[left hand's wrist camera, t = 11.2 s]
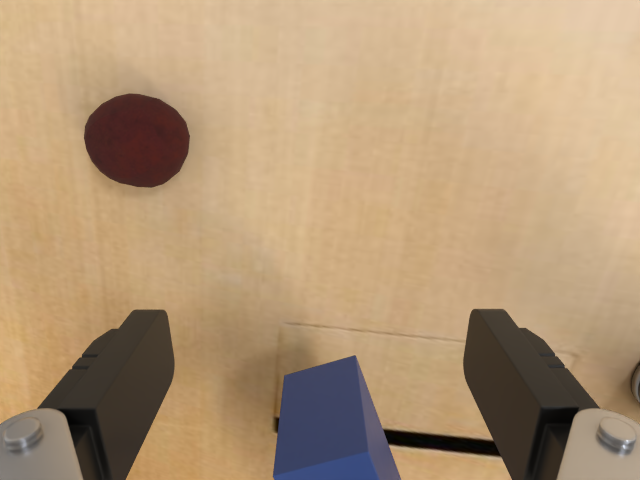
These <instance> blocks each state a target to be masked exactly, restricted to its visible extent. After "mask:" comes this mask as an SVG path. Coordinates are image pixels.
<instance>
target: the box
mask: <svg viewBox="0 0 640 480" xmlns="http://www.w3.org/2000/svg"><path fill="white" fill-rule="evenodd" d="M273 477H274V479H275V480H401V478H400V475H399V472H398V470H397V467H396V464H395V461H394V459H393V456H392V453H391V451H390V448H389V445H388V442H387V440H386V437H385V434H384V431H383V429H382V426H381V423H380V421H379V418H378V415H377V412H376V410H375V407H374V404H373V401H372V399H371V396H370V393H369V390H368V388H367V385H366V382H365V380H364V377H363V374H362V371H361V369H360V366H359V363H358V360H357V358H356V356H351V357H347V358H344V359H340V360H337V361H333V362H330V363H326V364H323V365H319V366H316V367H312V368H309V369H305V370H302V371H298V372H295V373H291V374H288V375H285V376H284V383H283V392H282V401H281V410H280V418H279V427H278V436H277V445H276V454H275V463H274V471H273Z"/></svg>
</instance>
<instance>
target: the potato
mask: <svg viewBox="0 0 640 480" xmlns="http://www.w3.org/2000/svg"><path fill="white" fill-rule="evenodd" d="M189 138H190V135H189V132H188V128H187V125H186V122H185V120H184V119H183V118H182V117H181V115H180V114H179V113H178V112H177V111H176V110H175V109H174V108H172V107H171V106H169V105H168V104H166V103H164V102H163V101H161V100H160V99H157V98H152V97H148V96H144V95H140V94H126V95H121V96H117V97H114V98H112V99H110V100H109V101H107V102H105V103H103V104H102V105H100V106H99V107H98V108H97V109H96V110H95V111H94V112H93V113H92V114H91V115H90V117H89V119H88V121H87V123H86V126H85V134H84V140H85V144H86V149H87V152H88V154H89V156H90V158H91V160H92V162H93V163H94V164H95V166H96V167H97V168H98V169H99V170H100V171H101V172H102V173H103V174H104V175H106V176H107V177H108V178H110V179H112V180H114V181H117V182H119V183H123V184H128V185H132V186H136V187H155V186H158V185H162V184H164V183H165V182H167V181H168V180H169V179H171V178H172V177H173V176H174V175H175V174H177V173H178V172H179V171H180V169H181V167H182V165H183V163H184V161H185V159H186V157H187V154H188V149H189Z"/></svg>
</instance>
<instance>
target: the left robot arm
mask: <svg viewBox="0 0 640 480" xmlns="http://www.w3.org/2000/svg"><path fill="white" fill-rule="evenodd" d="M463 366H464V375H465V379H466V382H467V384H468V386H469V389H470V391H471V393H472V395H473V397H474V399H475V401H476V404H477V406H478V408H479V410H480V412H481V414H482V416H483V418H484V421H485V423H486V425H487V427H488V429H489V431H490V433H491V436H492V438H493V440H494V442H495V444H496V446H497V448H498V450H499V453H500V455H501V457H502V459H503V461H504V463H505V465H506V468H507V470H508V472H509V474H510V476H511V478H512V480H640V424H639V423H637V422H636V421H634V420H632V419H630V418H628V417H626V416H624V415H622V414H619V413H616V412H613V411H610V410H605V409H600V408H599V406H598V405H597V404H596V403H595V402H594V400H593V399H592V398H591V397H590V396H589V394H588V393H587V392H586V391H585V390H584V388H583V387H582V386H581V385H580V383H579V382H578V381H577V380H576V379H575V377H574V376H573V375H572V374H571V373H570V371H569V370H568V369H567V368H565V367H564V366H565V365H564V364H563V363H562V362H561V360H560V359H559V358H558V357H555V353H554V352H553V351H552V350H551V348H550V347H549V346H548V345H547V344H546V342H545V341H544V340H543V339H541V338H540V337H538V336H537V335H535V334H534V333H532V332H531V331H529V330H528V329H526V328H518V326H517V325H516V324H515V322H514V321H513V320H512V319H511V317H510V316H509V315H508V313H507V312H506V311H505V310H504V309H473V310H472V312H471V314H470V318H469V325H468V332H467V339H466V345H465V352H464V360H463ZM173 374H174V354H173V348H172V341H171V334H170V328H169V321H168V316H167V313H166V311H165V310H133V311H132V312H131V313H130V315H129V316H128V317H127V319H126V320H125V321H124V322H123V324H122V325H121V326H120V328H119V329H111V330H109V331H108V332H106V333H105V334H103V335H102V336H100V337H99V338H97V339H96V340H94V341H93V342H92V343H91V345H90V346H89V347H88V348H87V349H86V351H85V352H84V353H83V354H82V358H79V359H78V360H77V361H76V363H75V364H74V365H73V366H72V369H70V370H69V371H68V372H67V373H66V375H65V376H64V377H63V378H62V379H61V381H60V382H59V383H58V384H57V385H56V387H55V388H54V389H53V390H52V391H51V393H50V394H49V395H48V396H47V397H46V399H45V400H44V401H43V402H42V403H41V405H40V406H39V407H38V408H37V409H35V410H30V411H27V412H24V413H21V414H18V415H16V416H14V417H12V418H10V419H8V420H6V421H4V422H3V423H1V424H0V480H126V478H127V475H128V473H129V471H130V469H131V467H132V465H133V463H134V461H135V459H136V456H137V454H138V452H139V450H140V448H141V446H142V444H143V442H144V440H145V437H146V435H147V433H148V431H149V429H150V427H151V425H152V423H153V421H154V418H155V416H156V414H157V412H158V410H159V408H160V406H161V404H162V402H163V399H164V397H165V395H166V393H167V391H168V389H169V387H170V385H171V382H172V379H173ZM631 387H632V392H633V395H634V397H635V398H636V400H637V401H638V402H639V403H640V365H639V366H638V368H637V369H636V371H635V373H634V375H633V378H632V384H631Z"/></svg>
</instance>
